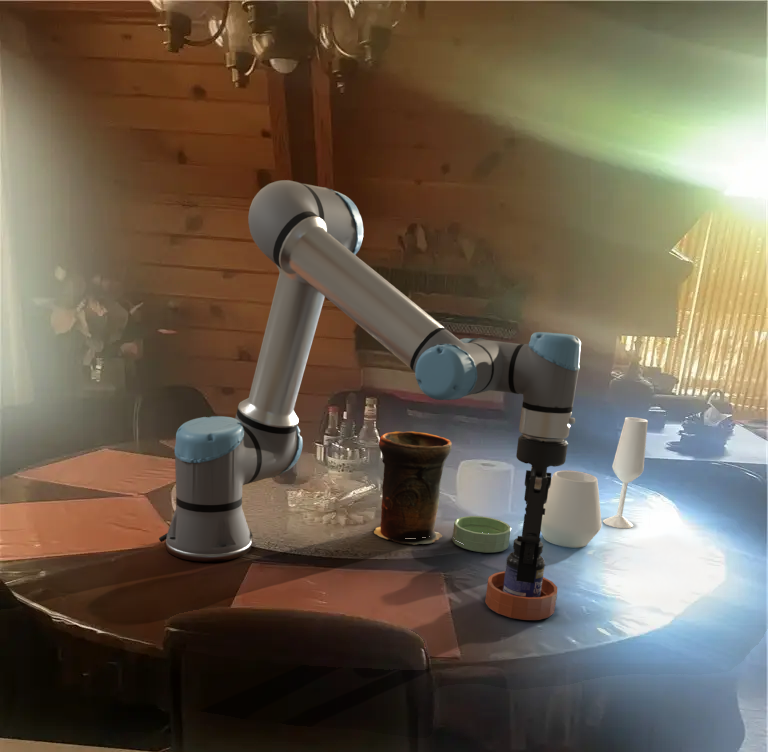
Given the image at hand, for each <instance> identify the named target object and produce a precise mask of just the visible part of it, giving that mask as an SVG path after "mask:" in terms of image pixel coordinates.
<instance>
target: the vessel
mask: <svg viewBox="0 0 768 752" xmlns="http://www.w3.org/2000/svg"><path fill="white" fill-rule="evenodd" d="M452 446H453V444H452V441H451V440H450V439H448V438H446V437H442V436H439V435H436V434H432V433H427V432H420V431H419V432H418V431H392V432H391V431H390V432H386V433H384V434H382V435H381V436H380V438H379V441H378V448H379V450H380V452H381V454H382V463H383V479H382V487H381V488H382V489H381V490H382V493H381V494H382V496H381V497H382V498H381V506H380V507H381V513H380V515H381V516H380V526H378V527H375V530H373V533H374V534H375V535H376V536H378V537H379V538H381V539H385V540H390V541H393V542H394V543H399V544H407V545H413V546H415V545H419V544H422V545H424V544H427V545H429V544H432V543H435V542H436V541H439V540H440V539H441V538H442V537H443V535H442V534H441V532H438V531H435V526H436V521H437V515H438V510H439V504H440V496H441V495H440V494H441V483H442V474H443V471H444V468H445V467H444V466H445V464H446V460H447V459H448V457H449V456H450V454H451V452H452ZM429 536H430V537H429ZM422 537H426V538H422ZM405 538H416V539H405Z"/></svg>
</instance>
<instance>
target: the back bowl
mask: <svg viewBox="0 0 768 752" xmlns="http://www.w3.org/2000/svg"><path fill="white" fill-rule="evenodd" d="M511 530H512V526H510V524H508V523H507V522H505V521H503V520H500V519H497V518H493V517H490V516H489V517H488V516H480V515H475V516H474V515H468V516H460V517H458V518H457V519H455V520H454V523H453V529H452V531H453V532H452V542H453V543H454V544H455V545H456V546H458V547H460V548H462V549H465V550H468V551H471V552H472V551H473V552H477V553H499V552H504V551H505V550H508V548H509V545H510V539H511V538H510V537H511V532H512V531H511ZM482 532H483V533H482ZM488 533H489V534H488ZM453 537H454V538H455V539H454V538H453ZM455 540H457V541H459V542H461V543H463V544H464V545H463V544H461V543H459V542H457V541H455Z"/></svg>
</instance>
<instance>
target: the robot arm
mask: <svg viewBox="0 0 768 752" xmlns="http://www.w3.org/2000/svg"><path fill="white" fill-rule="evenodd" d="M247 219H248V220H247V221H248V227H249V232H250V235H251V238H252V240H253V242H254V243H255V245H256V246H257V248H258V249H259V250H260V251H261V252H262V254H264V255H265V256H266V257H267V258H268V259H269V260H270V261H271V262H272V263H274V264H275V265H276V268H277V269H278V271H279V274H278V278H277V281H276V286H275V289H274V293H273V298H272V302H271V306H270V311H269V314H268V318H267V322H266V326H265V330H264V334H263V339H262V343H261V347H260V351H259V354H258V359H257V364H256V366H255V371H254V375H253V378H252V382H251V387H250V391H249V396H248V398H246V399H243V400H241V401H240V402H239V403H238V406H237V409H236V414H235V417H230V416H222V415H211V416H209V417H208V416H207V417H206V416H203V417H196V418H193V419H190V420H188V421H185V422H184V423H182V424H181V425H180V426H179V428H177V430H176V433H175V445H174V448H173V449H174V451H173V452H174V458H175V459H174V460H175V461H174V464H175V466H174V468H175V509H174V512H173V516H172V518H171V522H170V524H169V527H168V530H167V532H166V533H164V534H163V535H162V536H159V538H158V540H159V542H161V543H163V542H164V541H165V548H166V551H167V552H168V553H169V554H170V555H172V556H174V557H177V558H179V559H181V560H186V561H191V562H202V563H212V562H214V563H216V562H225V561H231V560H234V559H237V558H240V557H243V556H244V555H246V554H248V553H249V552H250V551H251V549H252V539H253V532H252V530H251V528H249V525H248V522H247V519H246V516H245V513H244V510H243V486H245V485H248V484H252V483H255V482H259V481H262V480H266V479H272V478H276V477H278V476H280V475H283V474H284V473H286V472H288V471H289V470H291V469H292V468H293V467H294V466H295V465H296V464H297V463H298V461H299V459H300V457H301V454H302V452H303V451H302V450H303V444H304V443H303V442H304V441H303V437H302V436H301V435H300V433H301V429H300V427H299V426H298V425H299V420H300V419H299V417H298V415H297V414H296V412H295V407H296V402H297V399H298V396H299V391H300V387H301V384H302V382H303V381H302V380H303V376H304V373H305V370H306V366H307V362H308V358H309V355H310V351H311V347H312V344H313V340H314V337H315V333H316V329H317V327H318V322H319V320H320V319H319V318H320V315H321V312H322V308H323V304H324V301H325V298H326V299H327V300H328V301H329V302H331V303H332V304H333V305H334V306H336V308H338V310H340V311H341V312H343V313H344V314H345V315H346V316H347V317H348V318H350V319H351V320H352V321H353V322H355V323H356V324H357V325H358V326H359V327H360V328H362V329H363V331H365V332H366V333H368V334H369V335H370V336H371V337H372V338H374V339H375V341H377V342H378V343H380V344H381V345H382V346H383V347H384V348H385V349H387V351H389V353H391V354H393V355H394V356H395V357H396V358H397V359H398V360H399V361H401V362H402V364H404V365H406V366H407V367H408V368H409V369H411V370H412V371H413V372H414V375H415V380H416V382H417V385H418V387H419V389H420V391H422V393H423V394H424V395H425V396H427V397H429V398H430V399H432V400H437V401H452V400H453V401H456V400H460V399H462V398H463V397H467V396H471V395H476V394H481V393H485V392H488V391H489V392H490V391H492V392H500V393H501V392H502V393H511V394H515V395H522V403H521V404H522V405H521V409H520V410H521V411H520V419H519V426H518V432H519V433H520V434H521V435H520V436H518V438H517V447H516V455H515V457H516V460H517V461H519V462H521V463H523V464H527V465H528V464H529V465H530V466H531V468H530V470H529V469H526V470H525V477H524V486H525V491H524V498H523V499H524V501H525V505H526V506H525V508H524V511H525V513H524V516H523V522H522V530H521V531H522V532H521V535H517V541H519V542H521V546H520V554H519V562H518V570H517V578H516V581H521V582H528V583H534V579H535V572H536V565H537V557H538V550H539V543H540V541H541V523H542V515H545V508H543V507H544V504H545V503H546V502H547V497H548V489H549V488H550V485H551V479H552V472H548V468H549V467H552V468H553V467H554V468H555V467H561V466H563V465H565V463H566V460H567V452H568V447H569V446H568V445H569V443H568V441H567V438H568V437H569V436H570V429H571V425H574V424H576V418H575V417H571V416H572V415H573V409H574V401H575V397H576V396H575V395H576V387H577V382H578V376H579V371H580V369H581V368H580V359H581V346H582V342H581V340H580V338H579V337H578V336H576V335H573V334H567V333H560V332H548V331H547V332H546V331H545V332H544V331H540V332H539V331H537V332H536V331H535V332H533V333H532V334H531V336H530V340H529V341H528V343H513V342H507V341H499V340H490V339H485V338H481V337H478V338H470V337H469V338H467V337H464V338H460V339H459V338H458V337H457V336H455V335H454V334H453V333H452V332H451V331H449V330H448V329H446V327H445V326H443V325H442V324H441V323H440V322H439V321H437V320H436V319H435V318H433V316H431V314H429V313H427V312H426V311H425V310H424V309H423V308H421V307H420V306H419V305H418V304H416V303H415V302H414V301H413V300H412V299H410V298H409V297H408V296H406V295H405V294H404V293H403V292H401V290H399V289H398V288H396V286H394V285H393V284H391V283H390V282H389V281H388V280H387V279H386V278H385V277H383V276H382V275H381V274H379V273H378V272H377V271H376V270H374V269H373V268H372V267H371V266H369V265H368V264H367V263H366V262H365V261H363V260H362V259H361V258H360V257H358V256H357V254H358V252H359V251H360V249H361V246H362V243H363V238H364V223H363V218H362V215H361V214H360V211H359V209H358V207H357V205H356V204H355V202H354V201H353V200H352V199H351V198H349V197H348V196H347V195H345V194H343V193H341V192H339V191H336V190H333V189H332V188H328V187H322V186H317V185H312V184H307V183H301V182H298V181H293V180H289V179H287V180H285V179H284V180H276V181H274V182H271V183H270V182H269V183H268V184H266V185H265V186H264V187H262V188H261V189H260V190H259V191H258V192H257V193H256V194H255V195H254V198H253V199H252V201H251V204H250V206H249V211H248V218H247Z"/></svg>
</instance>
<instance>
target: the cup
mask: <svg viewBox="0 0 768 752" xmlns="http://www.w3.org/2000/svg"><path fill="white" fill-rule="evenodd" d="M543 508H545V515H542V523H541V532H540V534H541V535H542V537H543V540H545V541H546V542H547V543H550V544H553V545H554V546H555V545H556V546H559V547H564V548H584V547H586V546H587V545H589V543H590V542H591V541H592V540H593V539H594V538H595V537H596V535H598V533H599V532H600V531H601V529H602V527H603V526H602V522H603V521H602V512H601V501H600V490H599V480H598V477H597V476H595V475H593V474H590V473H588V472H587V473H586V472H583V471H578V470H569V469H567V470H565V469H564V470H557V471H555V472H553V473H552V475H551V485H550V488H549V489H548V497H547V502H546V503H545V504H544V507H543Z"/></svg>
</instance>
